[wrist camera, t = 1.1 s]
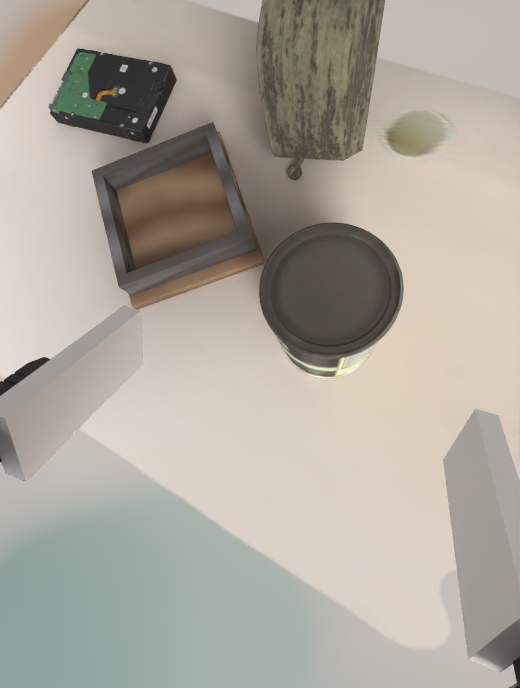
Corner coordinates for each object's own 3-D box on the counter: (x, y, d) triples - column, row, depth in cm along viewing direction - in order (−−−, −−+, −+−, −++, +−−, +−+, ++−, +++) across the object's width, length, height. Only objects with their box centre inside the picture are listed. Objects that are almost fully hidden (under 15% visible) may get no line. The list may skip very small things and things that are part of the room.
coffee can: (286, 386, 41) (268, 367, 27) (273, 295, 43) (251, 236, 29) (385, 372, 40) (418, 345, 26) (366, 279, 42) (388, 209, 28)
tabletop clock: (297, 86, 48) (273, -254, 24) (372, 88, 46) (426, -277, 22) (278, 190, 46) (228, -72, 21) (355, 196, 44) (395, -82, 20)
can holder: (264, 263, 44) (258, 247, 40) (136, 309, 45) (118, 298, 41) (221, 138, 48) (212, 112, 44) (106, 184, 50) (87, 162, 46)
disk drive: (179, 81, 52) (87, 64, 55) (171, 63, 49) (75, 45, 52) (151, 147, 51) (58, 126, 53) (141, 131, 48) (44, 110, 51)
